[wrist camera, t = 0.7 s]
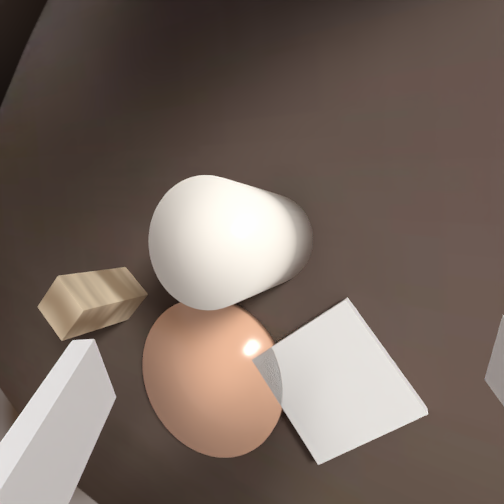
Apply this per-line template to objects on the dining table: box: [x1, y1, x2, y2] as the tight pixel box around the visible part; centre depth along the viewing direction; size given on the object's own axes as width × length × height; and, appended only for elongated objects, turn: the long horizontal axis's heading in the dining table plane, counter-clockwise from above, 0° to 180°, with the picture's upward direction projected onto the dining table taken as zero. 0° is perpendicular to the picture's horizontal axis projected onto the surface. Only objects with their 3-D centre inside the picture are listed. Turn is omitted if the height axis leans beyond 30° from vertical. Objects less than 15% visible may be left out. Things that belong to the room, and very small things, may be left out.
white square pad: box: [252, 297, 428, 465], centre depth 29 cm, size 10×10×1 cm
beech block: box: [38, 267, 148, 341], centre depth 34 cm, size 4×4×8 cm
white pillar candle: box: [149, 175, 313, 310], centre depth 26 cm, size 8×8×11 cm
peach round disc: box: [143, 302, 283, 458], centre depth 34 cm, size 15×15×1 cm
